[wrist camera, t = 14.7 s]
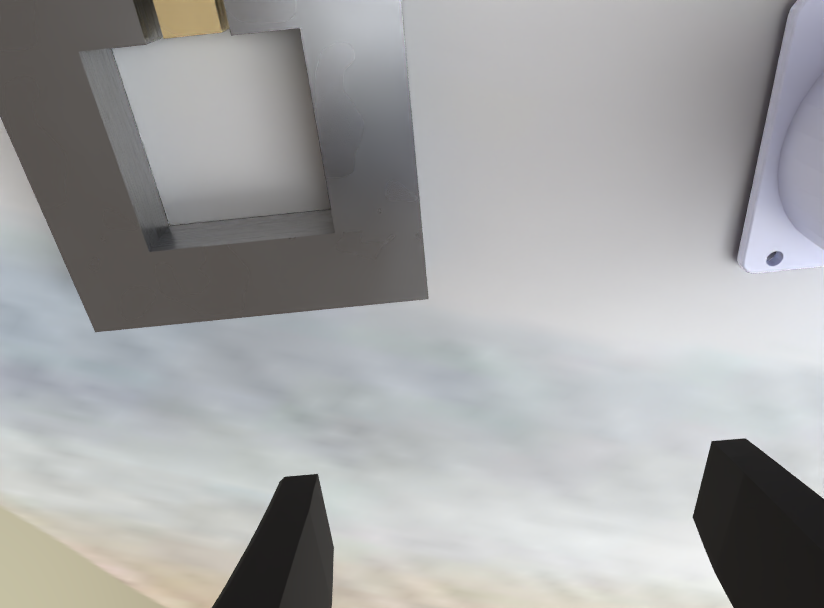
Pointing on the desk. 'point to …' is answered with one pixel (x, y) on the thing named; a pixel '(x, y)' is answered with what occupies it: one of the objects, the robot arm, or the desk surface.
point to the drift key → (191, 17)
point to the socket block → (229, 239)
